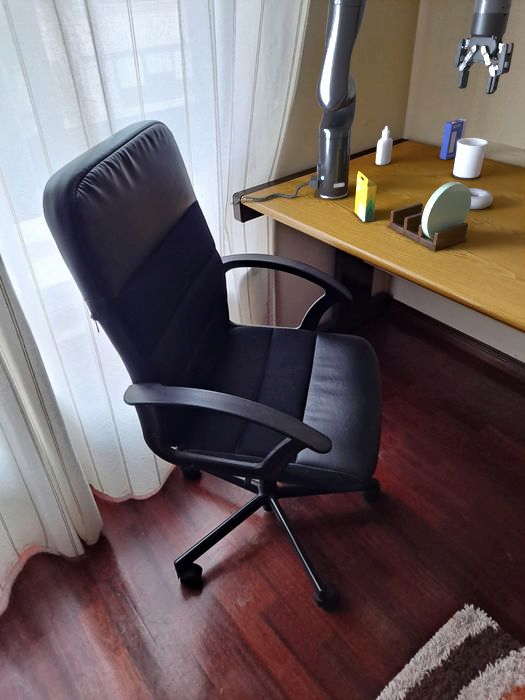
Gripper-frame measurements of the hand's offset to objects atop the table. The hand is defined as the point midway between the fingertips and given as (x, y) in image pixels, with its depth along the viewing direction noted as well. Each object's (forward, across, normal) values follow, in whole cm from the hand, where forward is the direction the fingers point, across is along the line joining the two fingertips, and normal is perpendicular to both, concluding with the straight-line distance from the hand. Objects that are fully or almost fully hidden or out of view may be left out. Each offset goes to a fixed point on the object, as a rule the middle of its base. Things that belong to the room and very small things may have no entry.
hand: (475, 90), depth 119 cm
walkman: (+30, -34, +34) cm, 57 cm away
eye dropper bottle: (+30, -43, +11) cm, 54 cm away
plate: (+30, +12, -16) cm, 36 cm away
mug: (+30, -18, +25) cm, 43 cm away
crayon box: (+30, -11, -22) cm, 39 cm away
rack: (+30, +7, -16) cm, 35 cm away
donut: (+30, 0, +8) cm, 31 cm away
